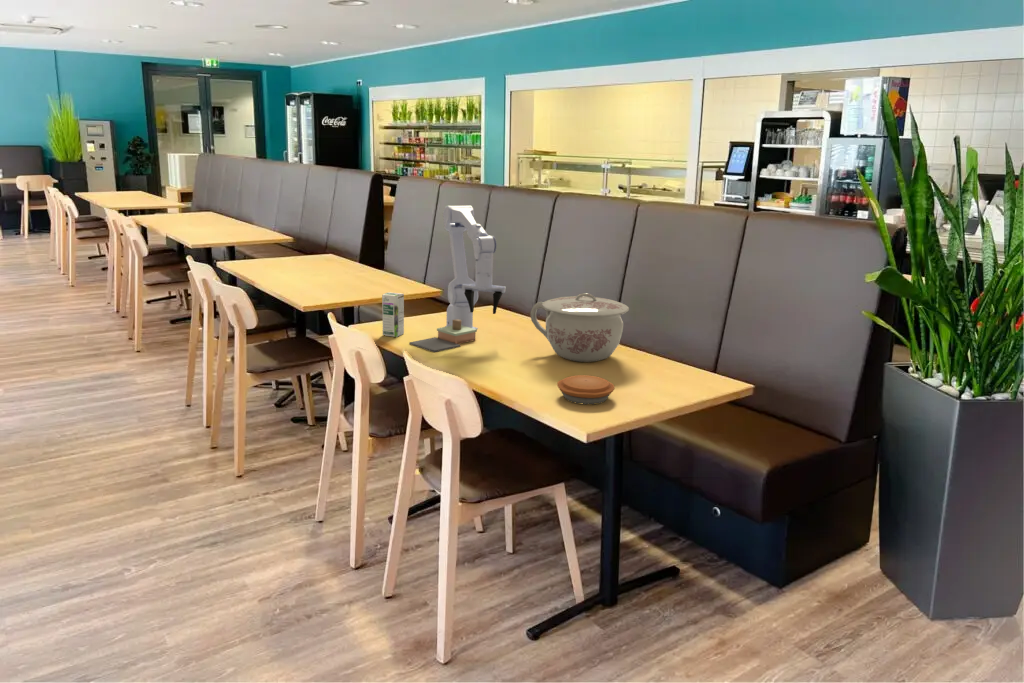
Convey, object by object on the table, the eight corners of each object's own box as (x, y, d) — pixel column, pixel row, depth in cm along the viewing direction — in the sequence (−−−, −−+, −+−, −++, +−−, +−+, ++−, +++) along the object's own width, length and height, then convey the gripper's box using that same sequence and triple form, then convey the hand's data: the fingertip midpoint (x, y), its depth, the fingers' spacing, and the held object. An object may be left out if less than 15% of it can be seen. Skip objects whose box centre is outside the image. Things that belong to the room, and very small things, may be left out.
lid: (436, 330, 264) (436, 319, 263) (458, 326, 270) (458, 315, 269) (455, 336, 257) (455, 325, 256) (476, 331, 264) (476, 320, 263)
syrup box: (382, 335, 267) (381, 294, 263) (389, 332, 272) (389, 291, 269) (397, 337, 265) (396, 295, 262) (404, 333, 271) (404, 292, 267)
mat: (409, 344, 257) (409, 342, 257) (435, 338, 265) (435, 337, 265) (434, 352, 248) (434, 350, 248) (460, 346, 256) (460, 344, 256)
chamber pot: (643, 362, 244) (648, 297, 239) (573, 373, 230) (576, 305, 225) (589, 341, 267) (593, 282, 262) (522, 350, 253) (524, 288, 248)
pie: (592, 386, 219) (593, 369, 218) (625, 403, 206) (626, 385, 205) (545, 393, 212) (546, 375, 211) (576, 411, 199) (577, 392, 198)
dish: (438, 339, 264) (438, 330, 264) (457, 335, 271) (458, 326, 270) (455, 344, 258) (455, 335, 258) (475, 340, 265) (475, 331, 264)
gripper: (460, 273, 254) (459, 313, 257) (503, 275, 252) (502, 316, 255) (464, 269, 261) (464, 309, 264) (507, 272, 259) (505, 312, 262)
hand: (483, 312), depth 260 cm, fingers open, 7 cm apart
